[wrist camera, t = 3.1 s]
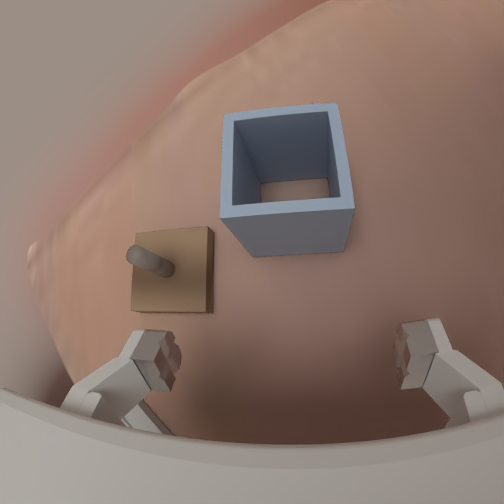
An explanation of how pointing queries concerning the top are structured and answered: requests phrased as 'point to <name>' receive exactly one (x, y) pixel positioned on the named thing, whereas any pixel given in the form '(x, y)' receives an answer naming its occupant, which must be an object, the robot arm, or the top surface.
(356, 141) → the top surface
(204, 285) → the post stand
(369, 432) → the top surface
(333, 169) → the collar
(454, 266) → the top surface
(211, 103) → the top surface
